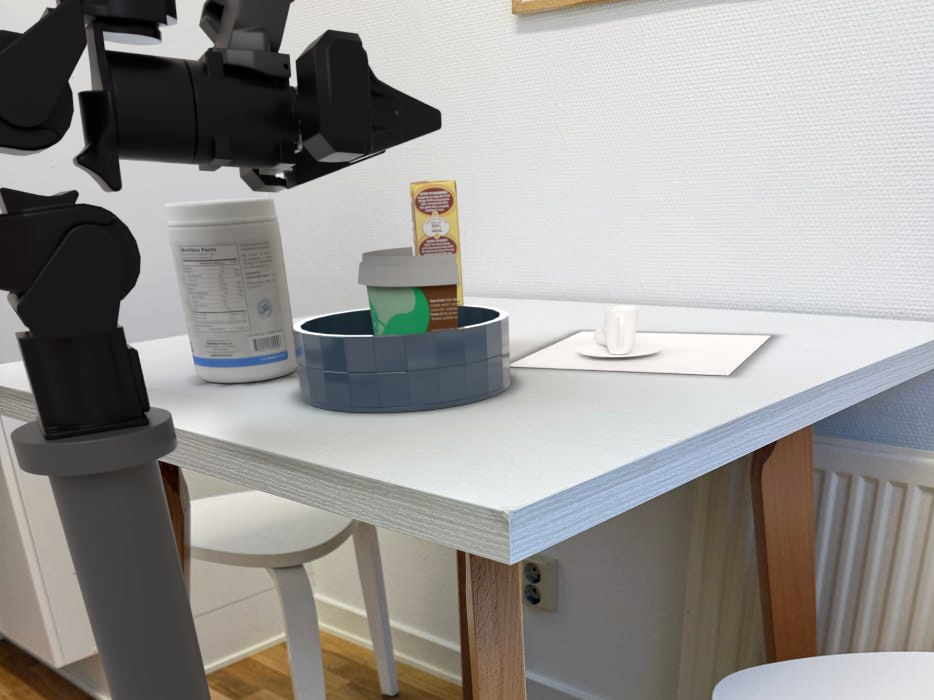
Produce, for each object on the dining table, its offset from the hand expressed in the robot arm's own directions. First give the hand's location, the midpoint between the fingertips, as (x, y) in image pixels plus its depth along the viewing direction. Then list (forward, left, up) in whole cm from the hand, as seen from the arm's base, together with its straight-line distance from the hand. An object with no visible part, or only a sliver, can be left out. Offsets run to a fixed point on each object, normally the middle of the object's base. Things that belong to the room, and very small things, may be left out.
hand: (411, 133), depth 62 cm
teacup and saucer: (+25, +4, -19) cm, 31 cm away
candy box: (+10, +17, -19) cm, 27 cm away
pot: (0, +4, -18) cm, 19 cm away
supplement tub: (-9, +20, -19) cm, 29 cm away
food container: (0, +4, -18) cm, 19 cm away
